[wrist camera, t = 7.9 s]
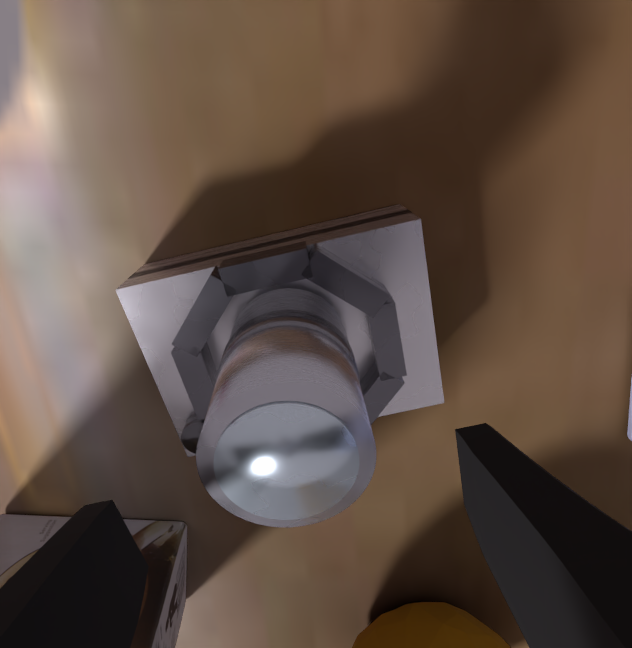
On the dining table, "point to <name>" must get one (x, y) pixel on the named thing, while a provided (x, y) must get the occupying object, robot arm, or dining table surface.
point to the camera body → (296, 273)
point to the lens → (287, 415)
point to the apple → (428, 629)
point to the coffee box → (157, 549)
